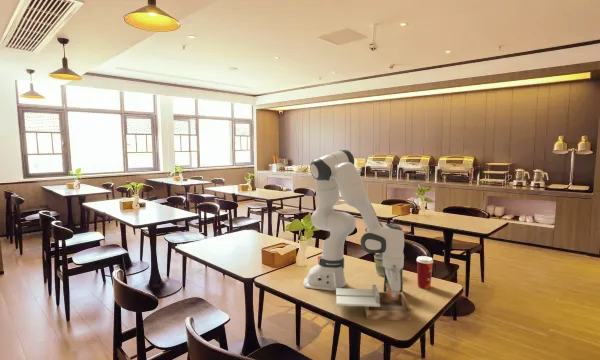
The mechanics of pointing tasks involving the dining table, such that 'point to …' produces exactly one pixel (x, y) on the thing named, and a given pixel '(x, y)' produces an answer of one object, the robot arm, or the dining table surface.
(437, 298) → the dining table surface
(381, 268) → the ceramic cup
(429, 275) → the coffee cup
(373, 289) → the lid
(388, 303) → the wooden box
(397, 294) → the terracotta pot
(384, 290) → the coffee jar
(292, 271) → the dining table surface
